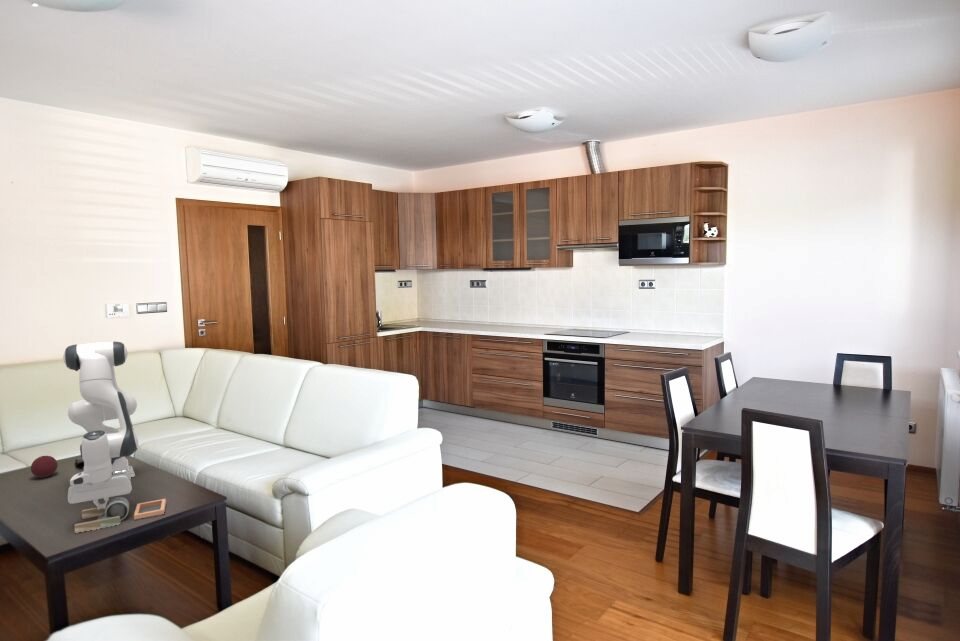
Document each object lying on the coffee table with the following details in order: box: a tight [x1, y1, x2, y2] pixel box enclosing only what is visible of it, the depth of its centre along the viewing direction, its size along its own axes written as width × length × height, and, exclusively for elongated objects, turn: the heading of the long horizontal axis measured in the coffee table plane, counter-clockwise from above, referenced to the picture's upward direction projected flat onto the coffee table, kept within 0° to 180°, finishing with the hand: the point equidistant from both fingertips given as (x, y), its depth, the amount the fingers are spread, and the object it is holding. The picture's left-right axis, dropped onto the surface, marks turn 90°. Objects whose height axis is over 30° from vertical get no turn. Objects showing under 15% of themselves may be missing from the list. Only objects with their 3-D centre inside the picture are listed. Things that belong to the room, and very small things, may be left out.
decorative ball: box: [30, 455, 58, 479], centre depth 266 cm, size 10×10×10 cm
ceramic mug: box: [96, 496, 130, 522], centre depth 219 cm, size 11×8×8 cm
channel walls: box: [74, 507, 121, 534], centre depth 217 cm, size 15×14×3 cm
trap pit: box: [133, 498, 167, 521], centre depth 225 cm, size 12×10×2 cm
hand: (102, 509), depth 217 cm, fingers closed
